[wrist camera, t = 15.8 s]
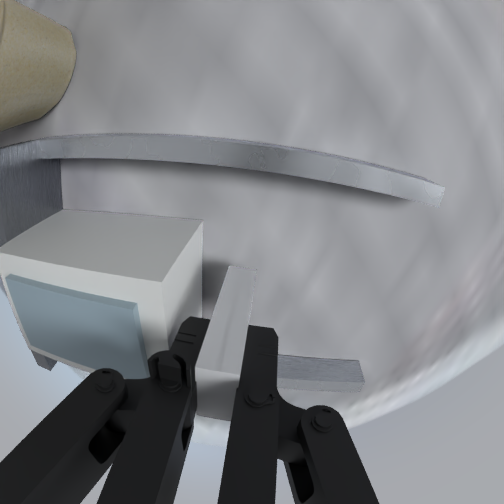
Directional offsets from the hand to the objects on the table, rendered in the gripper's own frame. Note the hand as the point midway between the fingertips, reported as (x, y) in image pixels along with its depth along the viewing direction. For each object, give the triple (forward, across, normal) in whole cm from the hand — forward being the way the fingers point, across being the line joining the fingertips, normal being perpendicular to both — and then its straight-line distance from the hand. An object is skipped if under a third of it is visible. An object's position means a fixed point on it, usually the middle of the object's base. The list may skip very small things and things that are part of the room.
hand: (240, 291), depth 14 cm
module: (+1, -7, 0) cm, 7 cm away
